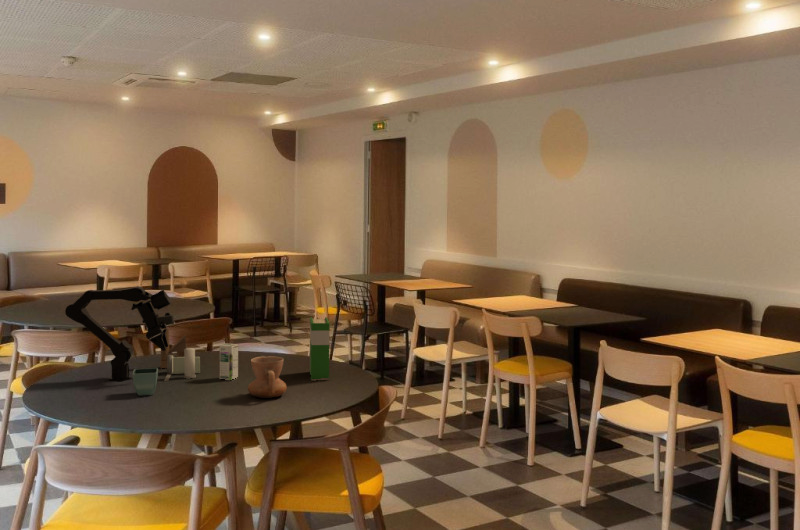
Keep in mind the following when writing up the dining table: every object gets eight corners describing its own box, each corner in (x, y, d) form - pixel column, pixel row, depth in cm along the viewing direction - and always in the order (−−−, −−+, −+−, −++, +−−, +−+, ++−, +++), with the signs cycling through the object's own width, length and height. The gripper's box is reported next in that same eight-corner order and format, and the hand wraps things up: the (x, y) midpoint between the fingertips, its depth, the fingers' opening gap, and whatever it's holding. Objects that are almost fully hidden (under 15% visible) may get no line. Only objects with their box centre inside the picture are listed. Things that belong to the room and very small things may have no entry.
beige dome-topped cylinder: (193, 379, 309) (192, 350, 308) (181, 378, 310) (181, 349, 309) (197, 376, 314) (197, 348, 313) (186, 375, 315) (186, 347, 314)
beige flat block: (172, 373, 317) (172, 357, 317) (173, 372, 320) (173, 356, 319) (199, 372, 319) (199, 357, 319) (200, 371, 322) (200, 356, 321)
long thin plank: (168, 371, 323) (168, 353, 322) (173, 371, 323) (173, 353, 322) (163, 381, 305) (163, 361, 304) (168, 380, 305) (168, 361, 305)
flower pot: (132, 397, 278) (132, 373, 277) (134, 391, 286) (134, 368, 286) (157, 396, 280) (157, 372, 279) (158, 390, 289) (158, 367, 288)
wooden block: (186, 367, 331) (185, 327, 330) (160, 369, 327) (160, 328, 326) (185, 365, 335) (185, 326, 333) (160, 367, 331) (159, 327, 330)
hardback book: (309, 371, 326) (310, 317, 325) (326, 371, 328) (327, 317, 326) (311, 381, 309) (311, 323, 307) (329, 380, 310) (329, 323, 308)
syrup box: (219, 379, 309) (219, 345, 308) (226, 376, 314) (226, 342, 313) (231, 380, 307) (231, 346, 306) (238, 377, 313) (238, 343, 312)
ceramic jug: (245, 391, 289) (245, 355, 288) (283, 389, 293) (283, 353, 292) (250, 403, 272) (250, 364, 271) (290, 401, 276) (290, 363, 275)
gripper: (163, 308, 299) (181, 343, 300) (169, 304, 317) (186, 336, 319) (137, 321, 297) (156, 355, 299) (144, 315, 315) (161, 348, 317)
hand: (165, 348), depth 308 cm, fingers open, 9 cm apart
